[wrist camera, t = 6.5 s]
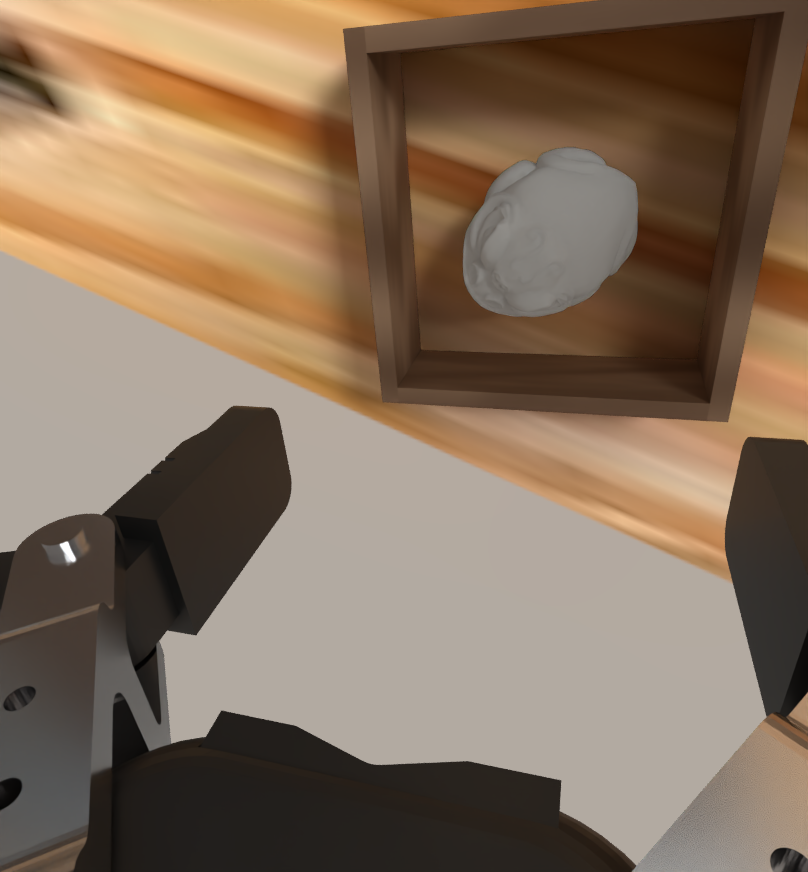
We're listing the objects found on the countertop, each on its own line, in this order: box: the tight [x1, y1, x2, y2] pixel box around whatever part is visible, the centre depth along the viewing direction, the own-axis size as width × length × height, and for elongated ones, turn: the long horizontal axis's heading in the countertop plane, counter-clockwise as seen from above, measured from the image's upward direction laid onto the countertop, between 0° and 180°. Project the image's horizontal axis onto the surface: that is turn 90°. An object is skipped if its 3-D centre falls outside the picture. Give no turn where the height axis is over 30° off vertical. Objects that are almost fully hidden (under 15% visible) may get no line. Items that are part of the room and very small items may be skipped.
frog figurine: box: [463, 147, 638, 317], centre depth 25 cm, size 6×7×7 cm
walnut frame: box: [343, 0, 808, 422], centre depth 26 cm, size 15×15×4 cm
